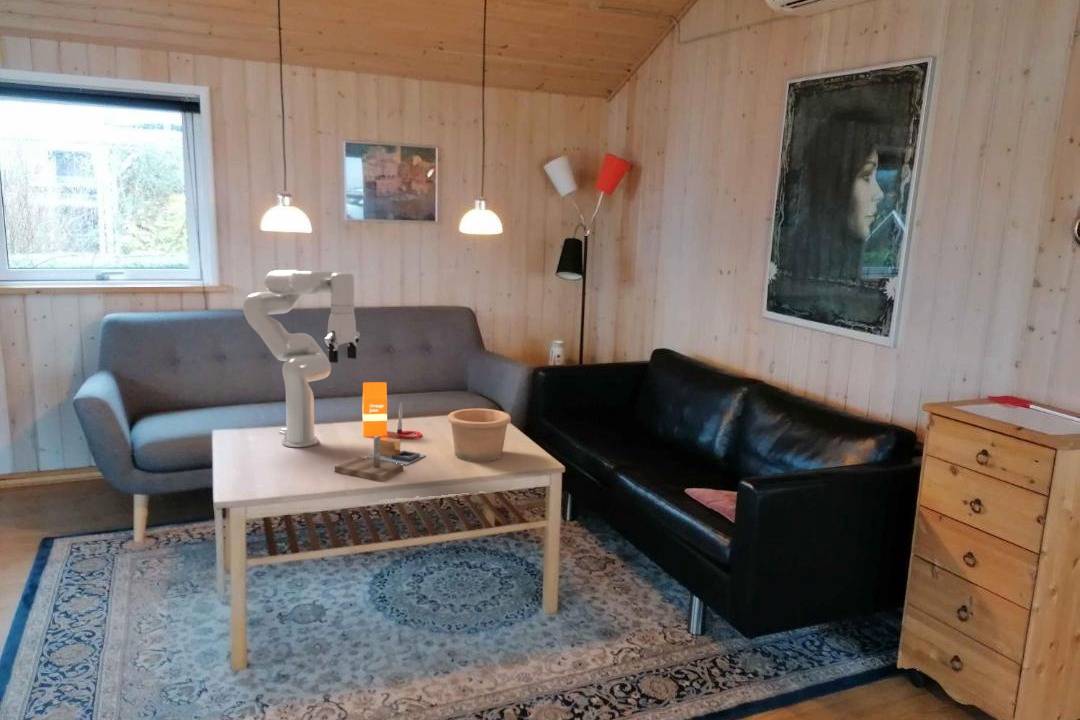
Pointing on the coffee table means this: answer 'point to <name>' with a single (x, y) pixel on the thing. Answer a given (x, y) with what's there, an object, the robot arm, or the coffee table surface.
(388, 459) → the mat
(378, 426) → the orange juice
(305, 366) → the robot arm
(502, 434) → the pottery
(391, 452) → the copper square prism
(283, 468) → the coffee table surface
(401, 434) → the tow hook
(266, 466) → the coffee table surface
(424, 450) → the coffee table surface
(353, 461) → the post stand
